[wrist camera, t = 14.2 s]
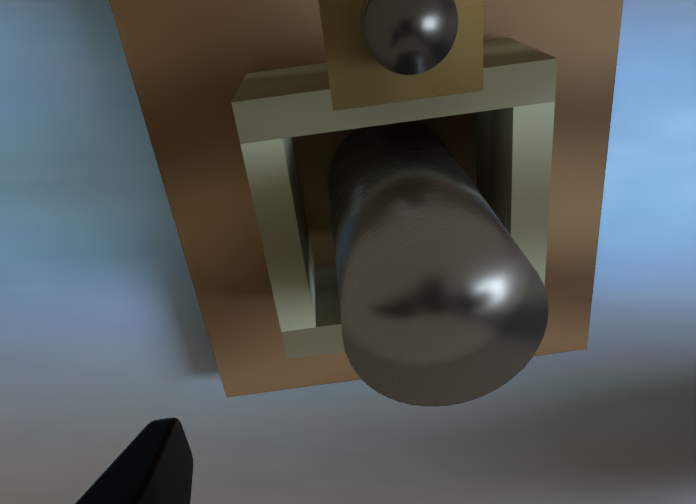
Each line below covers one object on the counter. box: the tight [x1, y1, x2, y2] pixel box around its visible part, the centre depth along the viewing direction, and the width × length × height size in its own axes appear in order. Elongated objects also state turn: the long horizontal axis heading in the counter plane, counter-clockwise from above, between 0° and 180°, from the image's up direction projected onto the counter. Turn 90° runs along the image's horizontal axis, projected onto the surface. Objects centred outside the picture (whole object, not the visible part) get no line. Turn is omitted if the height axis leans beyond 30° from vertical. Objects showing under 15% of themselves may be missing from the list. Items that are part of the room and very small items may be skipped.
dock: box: [109, 0, 623, 397], centre depth 16 cm, size 20×14×5 cm
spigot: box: [328, 121, 548, 406], centre depth 14 cm, size 4×4×8 cm
